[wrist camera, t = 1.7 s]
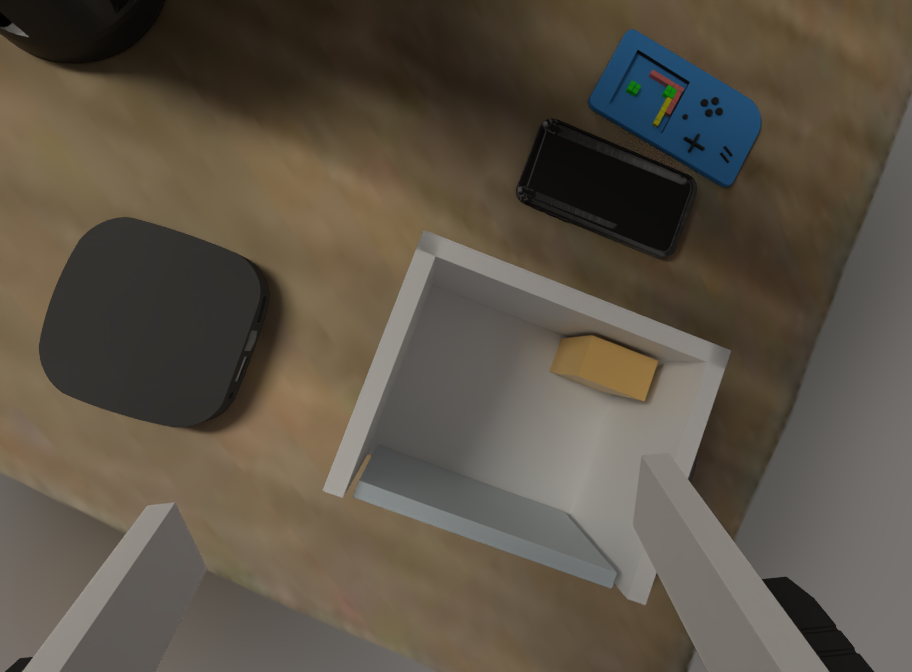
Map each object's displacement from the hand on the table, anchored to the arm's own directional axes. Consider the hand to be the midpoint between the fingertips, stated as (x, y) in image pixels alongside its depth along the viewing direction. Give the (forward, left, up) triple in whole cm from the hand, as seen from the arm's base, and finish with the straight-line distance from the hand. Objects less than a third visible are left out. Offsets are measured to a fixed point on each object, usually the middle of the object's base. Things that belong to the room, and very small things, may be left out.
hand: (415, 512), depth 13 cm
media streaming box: (-14, -17, -25) cm, 34 cm away
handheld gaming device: (-18, +31, -25) cm, 43 cm away
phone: (-12, +22, -25) cm, 35 cm away
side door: (+7, +1, -23) cm, 24 cm away
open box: (+1, +7, -25) cm, 26 cm away
